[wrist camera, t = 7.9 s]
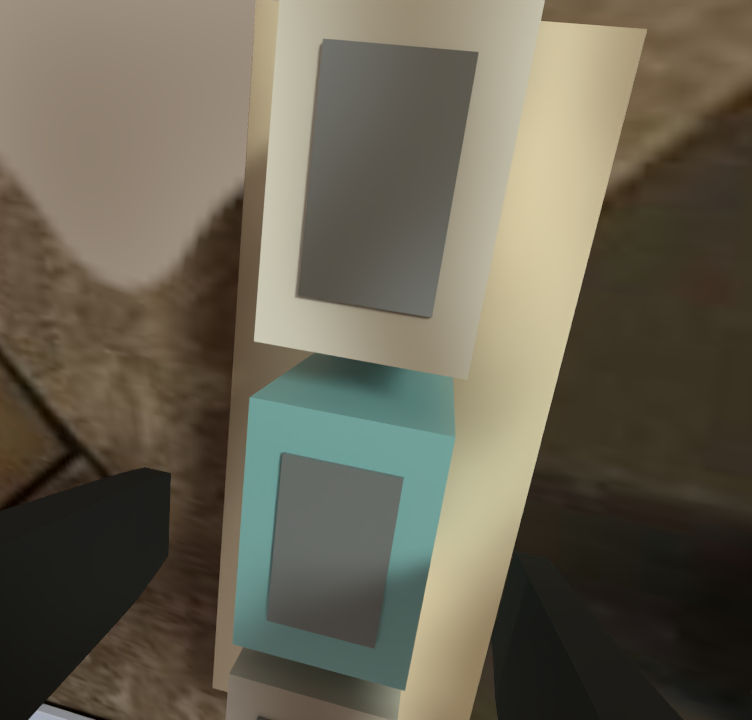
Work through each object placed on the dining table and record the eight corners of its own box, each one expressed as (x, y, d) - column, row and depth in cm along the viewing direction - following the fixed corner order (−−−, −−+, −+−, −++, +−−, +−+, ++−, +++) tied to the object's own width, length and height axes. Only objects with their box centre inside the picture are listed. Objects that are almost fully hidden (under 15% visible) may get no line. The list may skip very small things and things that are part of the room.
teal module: (303, 518, 15) (230, 647, 10) (322, 347, 13) (247, 398, 8) (419, 544, 14) (404, 695, 9) (452, 370, 13) (455, 439, 8)
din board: (224, 665, 18) (112, 868, 12) (270, 19, 13) (100, -213, 6) (458, 731, 17) (463, 994, 11) (630, 49, 11) (847, -204, 5)
